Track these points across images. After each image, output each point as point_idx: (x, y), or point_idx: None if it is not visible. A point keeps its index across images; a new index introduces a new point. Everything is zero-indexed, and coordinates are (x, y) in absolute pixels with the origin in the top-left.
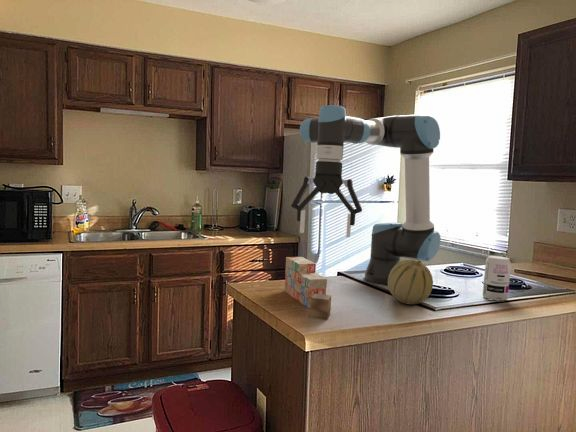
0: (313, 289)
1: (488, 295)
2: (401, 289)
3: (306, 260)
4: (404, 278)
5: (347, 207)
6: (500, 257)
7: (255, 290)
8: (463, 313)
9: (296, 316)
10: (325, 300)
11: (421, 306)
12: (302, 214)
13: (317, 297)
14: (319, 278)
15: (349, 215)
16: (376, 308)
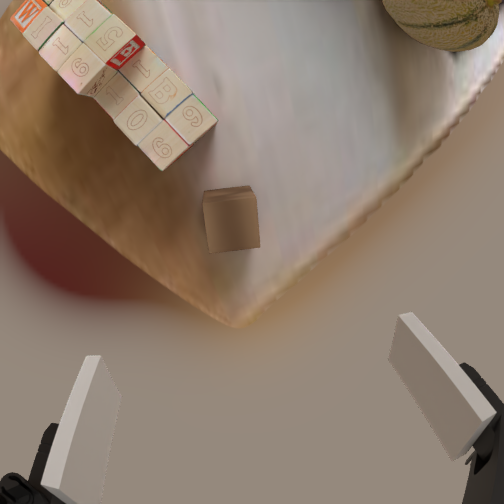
0: (180, 155)
1: None
2: (426, 40)
3: (86, 11)
4: (450, 36)
5: (469, 498)
6: None
7: (6, 97)
8: (490, 63)
9: (176, 241)
10: (251, 247)
11: None
12: (96, 495)
13: (224, 241)
14: (189, 130)
15: (458, 450)
16: (350, 72)
